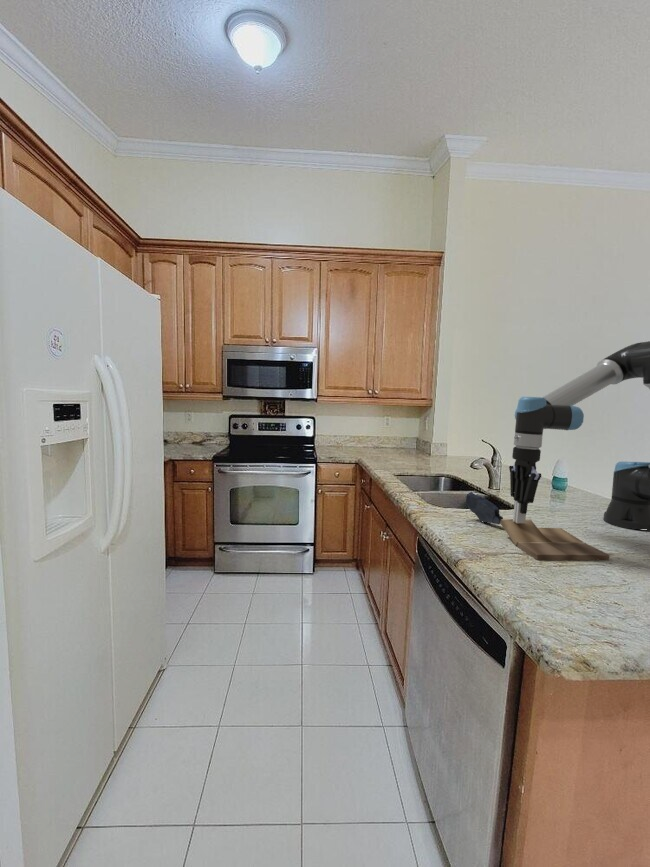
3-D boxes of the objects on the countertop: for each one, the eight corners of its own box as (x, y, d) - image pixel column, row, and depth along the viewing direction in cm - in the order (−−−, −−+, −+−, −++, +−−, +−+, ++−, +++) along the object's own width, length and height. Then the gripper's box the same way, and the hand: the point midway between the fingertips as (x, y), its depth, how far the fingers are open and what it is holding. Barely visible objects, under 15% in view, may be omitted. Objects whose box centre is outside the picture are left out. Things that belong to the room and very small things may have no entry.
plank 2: (560, 532, 124) (560, 527, 124) (583, 546, 114) (583, 542, 114) (531, 531, 123) (532, 527, 123) (552, 546, 113) (552, 541, 113)
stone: (506, 526, 131) (508, 497, 130) (501, 530, 127) (503, 500, 126) (466, 516, 140) (468, 490, 139) (459, 520, 135) (461, 492, 135)
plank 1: (529, 523, 123) (530, 519, 122) (547, 545, 114) (548, 541, 113) (499, 522, 122) (501, 518, 121) (515, 545, 113) (517, 541, 112)
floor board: (584, 547, 114) (584, 542, 114) (608, 560, 105) (609, 554, 105) (517, 547, 112) (517, 541, 112) (536, 560, 103) (537, 554, 103)
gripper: (503, 444, 123) (495, 515, 126) (529, 450, 110) (520, 529, 112) (525, 445, 124) (517, 515, 126) (553, 451, 110) (544, 530, 113)
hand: (518, 522), depth 119 cm, fingers closed
